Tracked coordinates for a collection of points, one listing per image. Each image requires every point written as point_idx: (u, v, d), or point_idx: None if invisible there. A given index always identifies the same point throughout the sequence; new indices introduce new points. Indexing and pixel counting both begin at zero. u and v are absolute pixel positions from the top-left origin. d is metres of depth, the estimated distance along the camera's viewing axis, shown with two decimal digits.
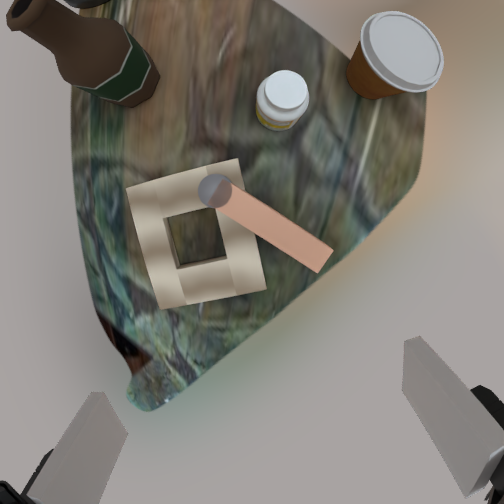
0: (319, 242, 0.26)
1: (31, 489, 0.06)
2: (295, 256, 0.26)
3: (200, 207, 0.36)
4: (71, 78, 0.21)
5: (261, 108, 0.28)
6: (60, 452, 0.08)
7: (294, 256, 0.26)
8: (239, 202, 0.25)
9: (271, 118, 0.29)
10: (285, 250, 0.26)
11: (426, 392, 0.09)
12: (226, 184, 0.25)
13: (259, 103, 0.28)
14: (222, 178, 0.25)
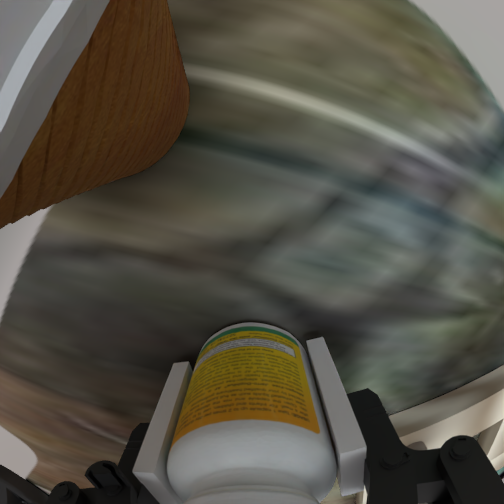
0: None
1: (136, 464, 0.07)
2: None
3: None
4: None
5: None
6: (161, 421, 0.09)
7: None
8: None
9: None
10: None
11: (317, 389, 0.11)
12: None
13: None
14: None
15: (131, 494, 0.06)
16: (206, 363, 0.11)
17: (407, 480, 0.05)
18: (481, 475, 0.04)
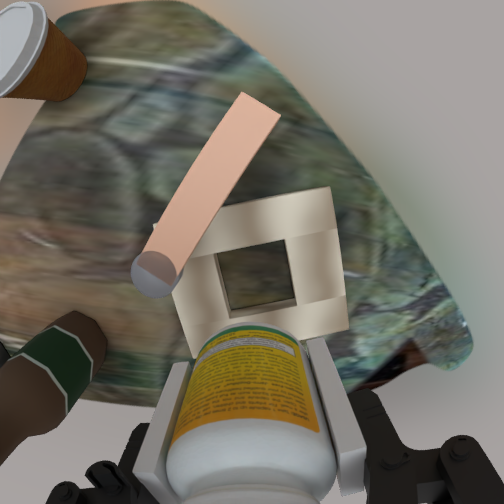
0: (228, 114, 0.15)
1: (136, 464, 0.07)
2: (251, 151, 0.15)
3: (215, 271, 0.28)
4: (51, 421, 0.19)
5: None
6: (161, 421, 0.09)
7: (251, 153, 0.15)
8: (167, 240, 0.16)
9: None
10: (241, 168, 0.15)
11: (317, 389, 0.11)
12: (143, 258, 0.17)
13: None
14: (136, 263, 0.17)
15: (131, 494, 0.06)
16: (206, 362, 0.11)
17: (407, 480, 0.05)
18: (481, 475, 0.04)
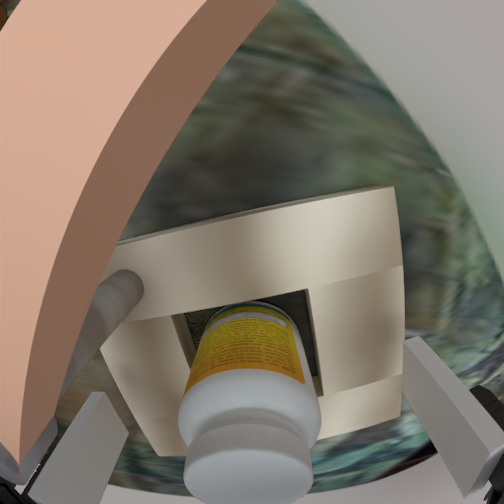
0: None
1: (32, 489, 0.06)
2: None
3: (177, 345, 0.14)
4: None
5: None
6: (61, 452, 0.08)
7: None
8: None
9: None
10: (127, 73, 0.02)
11: (425, 392, 0.09)
12: None
13: None
14: None
15: None
16: (211, 332, 0.13)
17: None
18: None
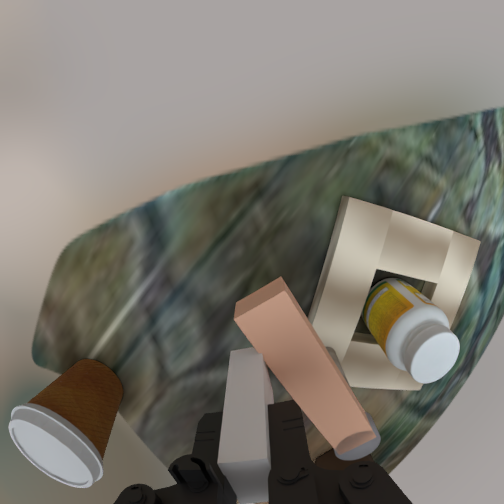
0: (254, 343, 0.13)
1: (220, 455, 0.07)
2: (309, 338, 0.13)
3: (367, 344, 0.25)
4: None
5: None
6: (235, 408, 0.10)
7: (311, 339, 0.13)
8: (340, 430, 0.14)
9: None
10: (320, 354, 0.13)
11: None
12: (340, 449, 0.14)
13: None
14: (339, 454, 0.15)
15: (218, 492, 0.06)
16: (369, 326, 0.23)
17: (307, 494, 0.06)
18: (389, 502, 0.05)
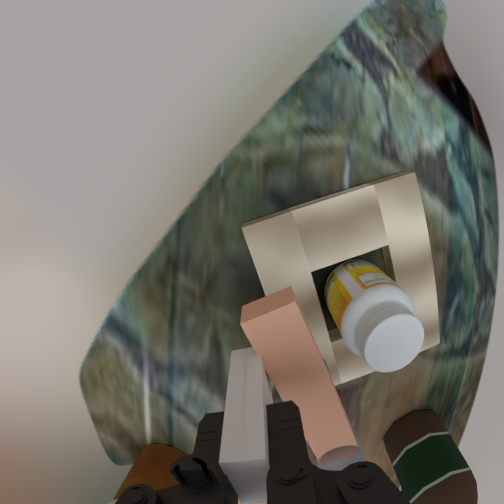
0: (257, 350, 0.13)
1: (221, 455, 0.07)
2: (311, 350, 0.13)
3: None
4: (469, 489, 0.16)
5: (411, 300, 0.18)
6: (236, 408, 0.10)
7: (314, 351, 0.13)
8: (327, 442, 0.14)
9: (397, 286, 0.18)
10: (320, 367, 0.13)
11: None
12: (323, 460, 0.14)
13: (414, 307, 0.18)
14: (321, 464, 0.15)
15: (219, 492, 0.06)
16: None
17: (305, 494, 0.06)
18: (387, 502, 0.05)
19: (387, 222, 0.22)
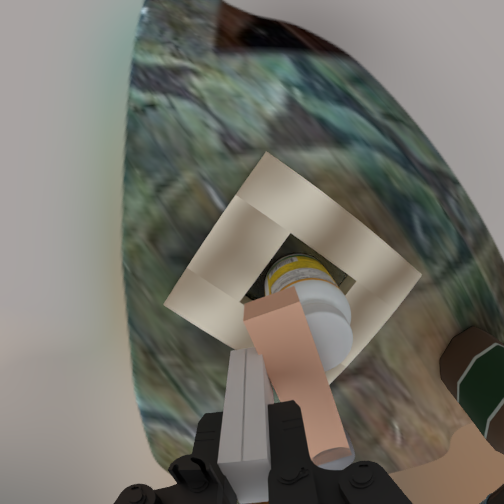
0: (258, 348, 0.13)
1: (220, 455, 0.07)
2: (312, 351, 0.13)
3: None
4: None
5: (324, 284, 0.18)
6: (235, 408, 0.10)
7: (314, 352, 0.13)
8: (320, 443, 0.14)
9: (300, 282, 0.18)
10: (319, 368, 0.13)
11: None
12: (315, 461, 0.15)
13: (332, 288, 0.18)
14: None
15: (218, 492, 0.06)
16: None
17: (307, 494, 0.06)
18: (389, 502, 0.05)
19: (273, 215, 0.22)
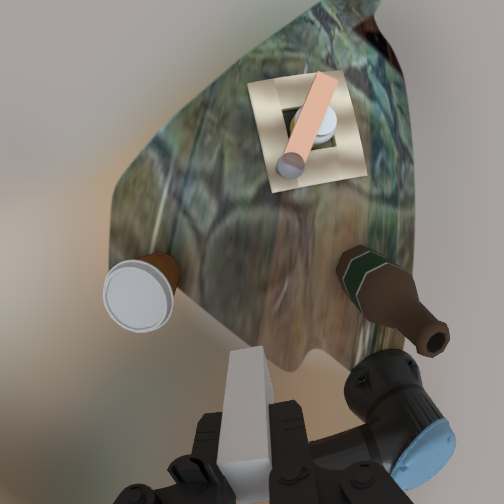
0: (314, 82, 0.29)
1: (219, 455, 0.07)
2: (329, 98, 0.29)
3: None
4: (405, 275, 0.33)
5: None
6: (235, 408, 0.10)
7: (329, 99, 0.29)
8: (297, 145, 0.30)
9: None
10: (326, 106, 0.29)
11: None
12: (284, 157, 0.30)
13: None
14: (280, 161, 0.31)
15: (217, 492, 0.06)
16: None
17: (308, 494, 0.06)
18: (390, 502, 0.05)
19: None
